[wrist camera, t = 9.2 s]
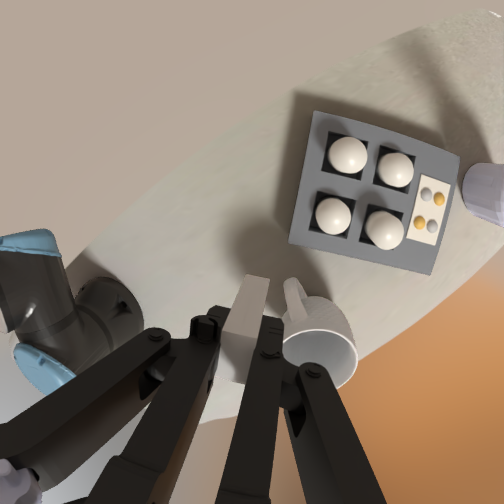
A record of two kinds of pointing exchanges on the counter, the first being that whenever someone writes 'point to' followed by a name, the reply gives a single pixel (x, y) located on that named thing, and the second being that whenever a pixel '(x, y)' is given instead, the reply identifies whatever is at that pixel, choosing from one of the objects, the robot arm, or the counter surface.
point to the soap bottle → (485, 192)
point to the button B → (347, 155)
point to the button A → (332, 215)
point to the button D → (394, 169)
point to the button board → (375, 195)
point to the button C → (384, 229)
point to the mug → (317, 333)
